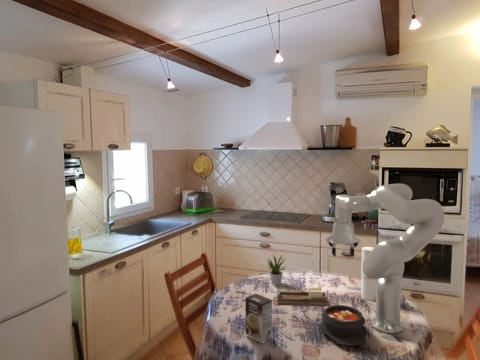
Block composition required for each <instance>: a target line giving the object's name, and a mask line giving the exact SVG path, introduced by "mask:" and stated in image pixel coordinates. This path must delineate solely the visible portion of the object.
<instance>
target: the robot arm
mask: <svg viewBox="0 0 480 360" xmlns="http://www.w3.org/2000/svg"><path fill="white" fill-rule="evenodd" d="M412 198H413V190H412V188H411V187H410V186H409V185H408V184H406V183H405V184H404V183H390V184H389V183H388V184H383V185H380V186H379V187H378V188H376V189H375V188H374V189H373V190H372V191H371V192H370V194H366V195H365V194H364V195H353V196H351V195H349V194H337V195H336V196H335V207H334V208H335V211H334V214H335V215H334V217H332V218H331V220H332V221H333V225H332V233H331V235H329V236H328V237H327V238H326V239H325V242H326V243H327V244H328V245H329V247H331V254H332V255H333V257H336V254H337V250H336V249H337V248H336V246H337V245H350V248H349V256H350V257H352V258H353V257H354V255H355V248H356V247H357V246H359V244H360V243H361V241H362V240H361V239H360V238H359V237H357V236H356V234H355V227H354V223H353V222H352V214H355V213H356V214H357V213H363V212H371V211H375V210H382V209H384V210H385V211H387V213H389V214H390V215H392V216H393V217H394V218H395V219H396V220H398V221H399V222H401V223H403V224H406V225H411V226H409V227H408V228H407V229H406V230H405V231H404V232H403V233H402V234H401V235H400V236H398V237H394V238H390V239H386V240H382V241H380V242H378V243H377V244H376V245H375V246H374V249H373V250H372V251H371V252H370V253H369V254H368V255H367V256H366V257H365V259H364V261H363V264H362V263H361V270H362V269H363V272H364V274H365V275H366V276H367V277H368V278H370V279H377V280H376V299H375V317H373V318H372V319H371V325H372V327H373V328H375V329H376V330H378V331H379V332H382V333H386V334H399V333H402V332H403V331H404V329H405V325H404V323H403V322H402V321H401V297H402V296H401V295H402V294H401V293H402V281H403V280H402V279H403V274H404V271H405V263H407V262H410V261H411V260H413V258H415V256H417V255H418V254H419V253H420V252H421V251H422V250H423V249H424V248H425V247H426V246H427V245H428V244H429V243H430V242H431V241H433V239H434V238H436V237H437V235H439V233H440V232H441V230H442V229H443V227H444V223H445V211H444V208H443V206H442V205H441V204H440V203H439V201H437V200H435V199H430V198H420V199H413V200H411V199H412ZM355 240H356V241H355ZM331 241H332V242H331Z"/></svg>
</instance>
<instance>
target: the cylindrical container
mask: <svg viewBox="0 0 480 360" xmlns="http://www.w3.org/2000/svg"><path fill="white" fill-rule="evenodd" d="M374 247H375V246H374ZM374 247H373V246H363V247H361V265H362V264H363V261H364V259H365V257H366V256H367V255H368V254H369V253H370V252H371V251H372V250H373V249H374ZM360 272H361V274H360V277H361V279H360V280H361V282H360V289H361V290H360V297H361V298H362V299H363V300H367V301H374V300H375V301H376V284H377V279H370V278H368V277H367V276H366V275H365V274H364V272H363V269H362V268H361V271H360Z"/></svg>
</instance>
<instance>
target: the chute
mask: <svg viewBox="0 0 480 360" xmlns="http://www.w3.org/2000/svg"><path fill="white" fill-rule="evenodd" d="M322 292H323V299H314V298H309V291H305V290H300V291H287V290H286V291H285V290H283V291H281V290H280V288H276V299H277V302H276V303H277V305H282V306H283V305H286V306H287V305H289V306H292V305H293V306H299V305H300V306H325V307H329V306H328V305H329V303H328V298H326V295H325V294H326V293H325V292H324V291H322Z"/></svg>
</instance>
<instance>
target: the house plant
mask: <svg viewBox="0 0 480 360" xmlns="http://www.w3.org/2000/svg"><path fill="white" fill-rule="evenodd" d="M283 256H284V254H282V255H280V256H279V258H278V260H277V258H276V256H275V255H274V254H271V257H272V258H273V261H274V263H273V261H272V260H271V259H270V258H269V257H267V260H266V262H267V263H268V264H267V265H266V266H267V268H269V269H267V271H269V275H270V281H271V284H272V285H273V286H280V285H281V284H282V279H283V278H282V277H283V270H286V268H287V267H286V266H282V265H283V264H284V262H285V261H287V260H288V258H284V257H283ZM281 266H282V267H281ZM286 271H287V270H286Z"/></svg>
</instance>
